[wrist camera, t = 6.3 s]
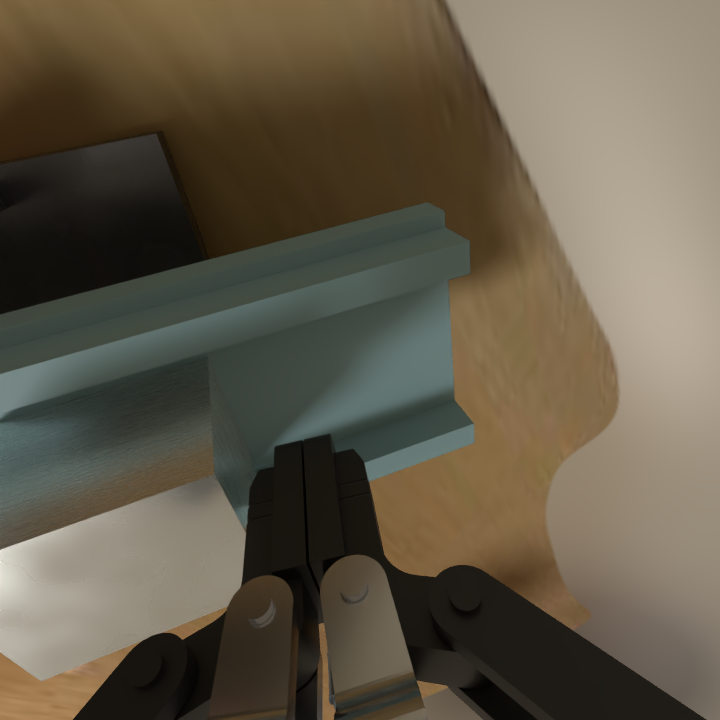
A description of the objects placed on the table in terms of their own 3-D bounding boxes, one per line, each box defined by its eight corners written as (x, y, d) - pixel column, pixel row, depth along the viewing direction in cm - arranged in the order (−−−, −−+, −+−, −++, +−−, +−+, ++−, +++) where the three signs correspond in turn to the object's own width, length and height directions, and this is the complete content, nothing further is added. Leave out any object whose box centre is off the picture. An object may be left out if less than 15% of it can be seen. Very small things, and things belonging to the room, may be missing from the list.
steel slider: (-4, 422, 13) (-97, 584, 9) (207, 357, 14) (214, 473, 10) (80, 521, 15) (41, 681, 11) (253, 460, 16) (274, 587, 12)
